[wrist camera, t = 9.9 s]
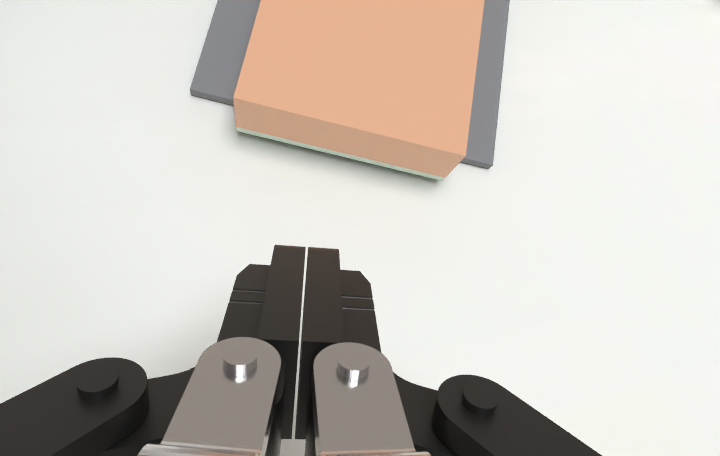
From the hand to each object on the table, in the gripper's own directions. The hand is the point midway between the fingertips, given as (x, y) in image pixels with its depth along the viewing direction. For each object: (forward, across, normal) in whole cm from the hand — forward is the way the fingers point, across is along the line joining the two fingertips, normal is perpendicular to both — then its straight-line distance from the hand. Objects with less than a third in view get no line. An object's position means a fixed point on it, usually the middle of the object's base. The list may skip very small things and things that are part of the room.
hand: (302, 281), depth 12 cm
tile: (+12, -2, 0) cm, 12 cm away
